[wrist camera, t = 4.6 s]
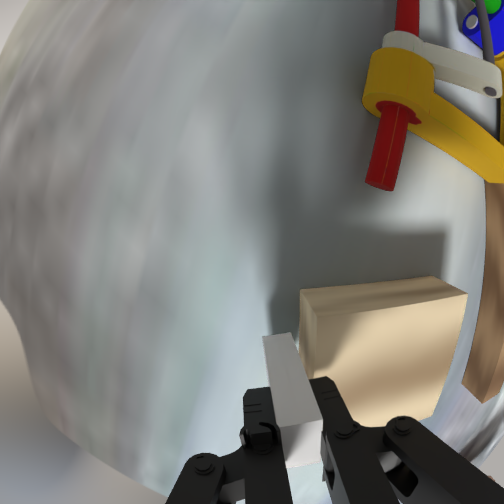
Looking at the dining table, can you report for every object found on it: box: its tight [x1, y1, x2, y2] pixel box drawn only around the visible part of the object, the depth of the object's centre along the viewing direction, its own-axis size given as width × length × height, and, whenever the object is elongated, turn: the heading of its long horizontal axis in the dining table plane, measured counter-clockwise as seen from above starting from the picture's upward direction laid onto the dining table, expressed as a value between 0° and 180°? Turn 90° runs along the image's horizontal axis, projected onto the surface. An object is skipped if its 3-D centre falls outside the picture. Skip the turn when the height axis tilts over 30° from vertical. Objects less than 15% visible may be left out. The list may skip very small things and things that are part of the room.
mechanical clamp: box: [362, 0, 504, 191], centre depth 9 cm, size 18×6×30 cm
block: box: [299, 276, 468, 427], centre depth 15 cm, size 9×9×4 cm
